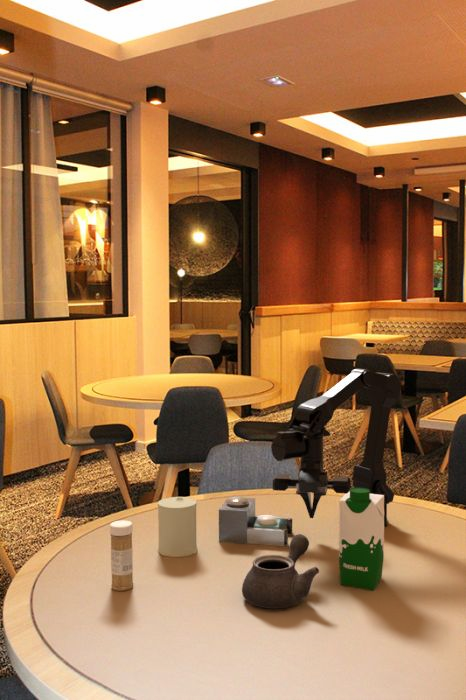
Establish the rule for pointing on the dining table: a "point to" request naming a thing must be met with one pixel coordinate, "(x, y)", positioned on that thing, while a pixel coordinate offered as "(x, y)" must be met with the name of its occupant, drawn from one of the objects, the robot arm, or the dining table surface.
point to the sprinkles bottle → (121, 555)
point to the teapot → (279, 578)
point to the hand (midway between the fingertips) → (311, 517)
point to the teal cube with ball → (267, 522)
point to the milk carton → (361, 538)
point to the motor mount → (249, 524)
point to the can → (177, 526)
